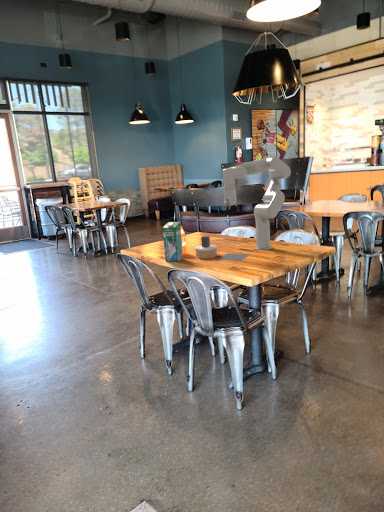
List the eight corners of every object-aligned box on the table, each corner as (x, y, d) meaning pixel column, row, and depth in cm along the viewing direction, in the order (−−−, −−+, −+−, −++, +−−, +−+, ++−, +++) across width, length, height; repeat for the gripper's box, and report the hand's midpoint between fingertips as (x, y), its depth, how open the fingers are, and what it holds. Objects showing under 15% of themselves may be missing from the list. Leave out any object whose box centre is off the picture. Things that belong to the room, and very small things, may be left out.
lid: (201, 245, 267) (200, 234, 265) (220, 246, 260) (220, 234, 258) (190, 250, 254) (189, 238, 252) (211, 251, 247) (210, 238, 245)
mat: (227, 254, 262) (227, 253, 262) (250, 255, 254) (250, 254, 254) (216, 260, 248) (216, 259, 247) (241, 261, 239) (241, 260, 239)
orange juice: (175, 252, 280) (173, 225, 276) (186, 252, 276) (184, 225, 272) (170, 254, 273) (168, 227, 269) (181, 255, 269) (179, 227, 265)
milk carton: (165, 261, 254) (162, 223, 249) (171, 258, 263) (168, 221, 257) (177, 261, 251) (174, 223, 246) (183, 258, 259) (180, 221, 254)
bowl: (202, 254, 267) (201, 246, 265) (219, 255, 260) (218, 246, 259) (193, 258, 256) (192, 249, 255) (210, 259, 250) (210, 250, 248)
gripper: (230, 186, 256) (232, 212, 260) (218, 189, 242) (220, 216, 246) (240, 185, 252) (242, 211, 256) (229, 188, 238) (231, 216, 242)
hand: (231, 214), depth 251 cm, fingers open, 9 cm apart
